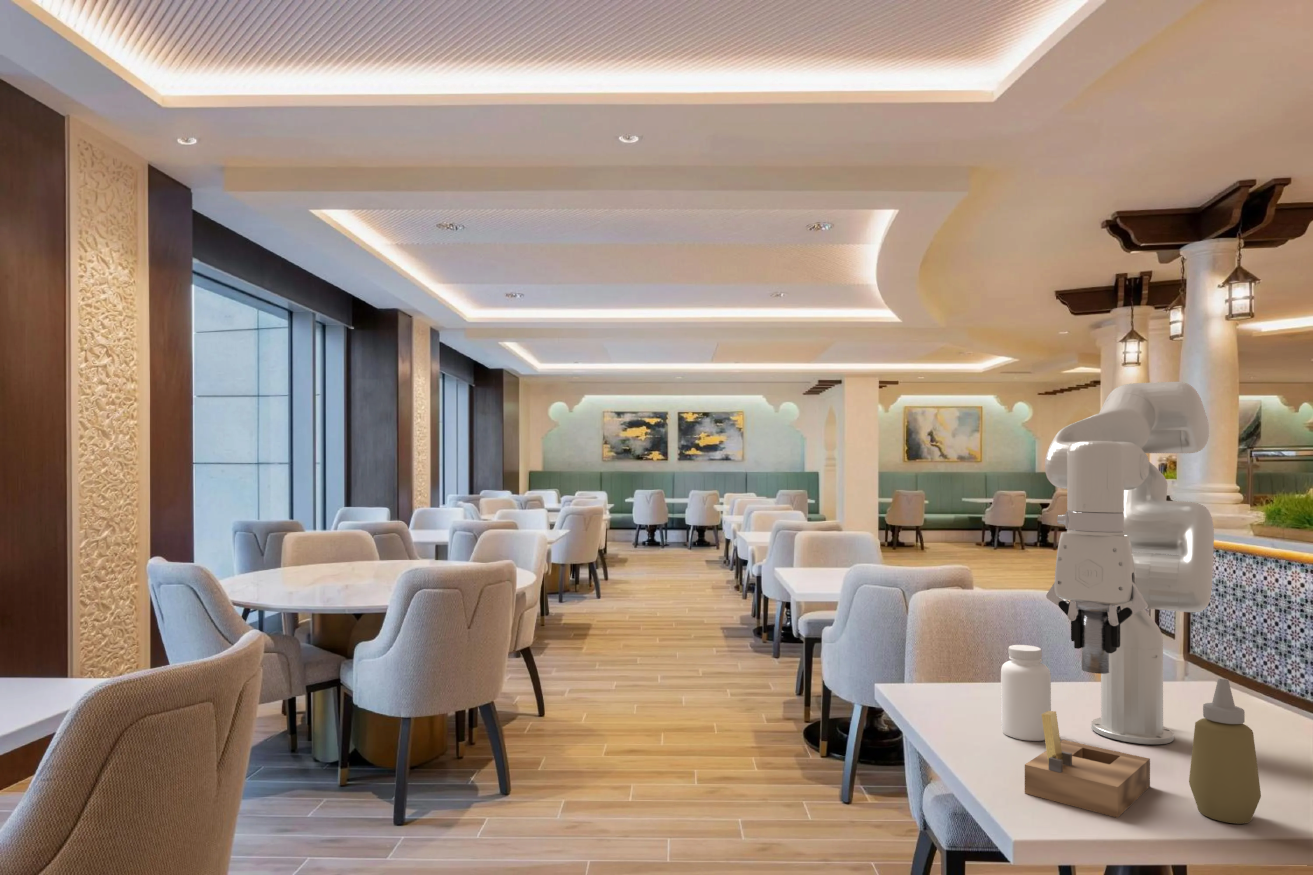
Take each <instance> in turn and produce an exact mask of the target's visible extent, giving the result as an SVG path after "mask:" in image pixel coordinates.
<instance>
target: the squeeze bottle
mask: <svg viewBox="0 0 1313 875" xmlns="http://www.w3.org/2000/svg"><path fill="white" fill-rule="evenodd" d="M1212 698H1213V699H1212V702H1206V703H1203V705H1202V712H1203V713H1202V715H1203V718H1200V719H1198V720H1197V721H1195V722H1194V731H1193V740H1192V748H1191V751H1192V752H1191V759H1190V767H1189V775H1188V776H1189V777H1188V783H1189V786H1190V790H1191V793H1192V796H1193V799H1194V801H1195V804H1196V806H1197V809H1198V812H1199V813H1200V814H1202V815H1203V816H1205V817H1207V818H1210V819H1213V820H1215V821H1216V820H1217V821H1219V822H1224V823H1230V824H1239V825H1240V824H1248V823H1250V822H1252V820H1253V817H1254V814H1255V813H1256V809H1257V807H1258V805H1259V803H1260V799H1261V797H1262V794H1261V793H1262V792H1261V784H1260V776H1259V768H1258V760H1257V753H1256V752H1257V751H1256V744H1255V737H1254V732H1253V730H1252V729H1251V727H1249V725H1247V724H1245V716H1246V715H1245V709H1244V708H1241V707H1240V706H1236V704H1235V701H1234V697H1233V693H1232V688H1231V685H1230V681H1229V679H1226V678H1217V683H1216V687H1215V690H1214V693H1213V697H1212Z"/></svg>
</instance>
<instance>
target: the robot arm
mask: <svg viewBox="0 0 1313 875" xmlns="http://www.w3.org/2000/svg"><path fill="white" fill-rule="evenodd" d="M1204 407H1205V406H1204V404H1203V401H1202V398H1201V397H1200V394H1199V392H1198V391H1197V390H1196V389H1195V388H1194V387H1193V386H1192V385H1191V384H1189V383H1187V382H1184V381H1161V382H1159V381H1157V382H1137V383H1128V384H1123V385H1120V386H1117V387H1115V388H1114V389H1112V391H1110V393H1109V394H1108V395H1107V397H1106V398H1105V400H1104V403H1103V405H1102V406H1101V409H1100V410H1099V412H1098V413H1095V414H1093V415H1091V416H1088V417H1085V418H1084V419H1081V420H1078V421H1076V422H1072V423H1070V424H1068V425H1066V426H1064V427H1063V428H1061V429H1060V430H1058V432H1057V433H1056V435H1055V436H1054V437H1053V439H1052V441H1051V442H1050V444H1049V447H1048V449H1047V452H1046V455H1045V458H1044V459H1045V460H1044V471H1045V475H1046V478H1047V480H1048V482H1050V484H1052V485H1053V486H1054V487H1056V488H1060V489H1065V490H1067V492H1066V493H1067V494H1066V495H1067V497H1066V498H1067V499H1066V502H1067V503H1066V507H1067V508H1066V509H1067V510H1066V511H1065V513H1064V514H1058V515H1057V517H1056V522H1057V524H1059V525H1064V526H1065V529H1066V531H1063V532H1062V531H1061V532H1060V536H1059V540H1058V546H1057V552H1056V561H1055V570H1054V572H1055V573H1054V583H1053V584H1052V586H1051V587H1050V589H1048V591H1047V594H1046V595H1045V598H1046V599H1047V600H1048V601H1050V602H1051V603H1053V604H1054V605H1056V606H1058V608H1059V609H1060V610H1061V611H1062V612H1063V613H1064V614H1065V615H1066V616H1067V618H1068V620H1069V621H1070V639H1071V642H1073V643H1074V644H1073V646H1074V649H1078V650H1079V649H1082V610H1080V609H1077V608H1076V601H1081V602H1083V601H1092V602H1096V603H1099V604H1109V612H1108V618H1109V621H1108V625H1106V626H1105V652H1107V653H1109V673H1107V674H1100V717H1097V718H1095V719H1093V720H1091V724H1090V725H1091V729H1092V730H1093V731H1094V732H1095V733H1097V734H1098V735H1101V736H1103V737H1104V738H1109V739H1111V740H1116V741H1120V742H1125V743H1131V744H1137V745H1138V744H1139V745H1152V746H1153V745H1166V744H1169V743H1172V742H1173V741H1174V740H1175V736H1174V735H1175V733H1174V732H1173V730H1171V729H1170V728H1168V727H1166V726H1164V640H1163V639H1164V638H1163V633H1162V631H1161V628H1160V627H1159V625H1158V624H1157V623H1156V622H1155V620H1154V619H1153V618H1152V617H1151V616H1150V614H1149V613H1148V612H1147V611H1146V610H1161V611H1170V612H1171V611H1172V612H1181V613H1183V612H1184V613H1199V612H1202V611H1204V610H1206V608H1208V606H1209V604H1210V601H1211V598H1212V588H1213V587H1212V586H1213V569H1214V568H1213V566H1214V547H1215V546H1214V544H1215V532H1214V530H1215V529H1214V522H1213V517H1212V514H1211V512H1210V511H1209V509H1208V508H1207V507H1206V506H1205V505H1203V504H1201V503H1198V502H1192V501H1183V500H1178V501H1177V500H1167V495H1168V494H1167V493H1168V481H1167V479H1166V477H1165V476H1164V474H1162V472H1161V471H1160V470H1159V469H1158V468H1157V467H1156V466H1155V465H1154V464H1153V463H1151V462H1150V460H1149V457H1148V455H1147V454H1195V453H1198V452H1200V451H1202V450H1203V449H1204V448H1205V447H1206V446H1207V443H1208V441H1209V437H1210V426H1209V420H1208V417H1207V413H1206V410H1205V408H1204Z"/></svg>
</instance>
